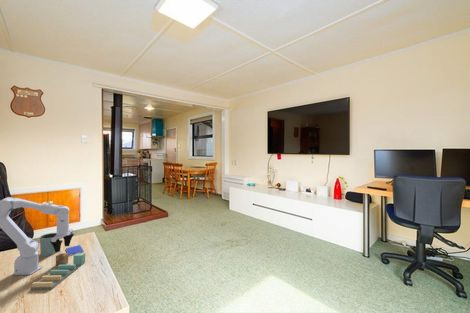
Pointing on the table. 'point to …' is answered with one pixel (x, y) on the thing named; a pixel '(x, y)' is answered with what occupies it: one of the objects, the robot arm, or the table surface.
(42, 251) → the grey-green bucket
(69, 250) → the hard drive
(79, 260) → the teal plug
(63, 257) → the walnut plug
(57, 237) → the robot arm
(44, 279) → the slot comb
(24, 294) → the table surface
